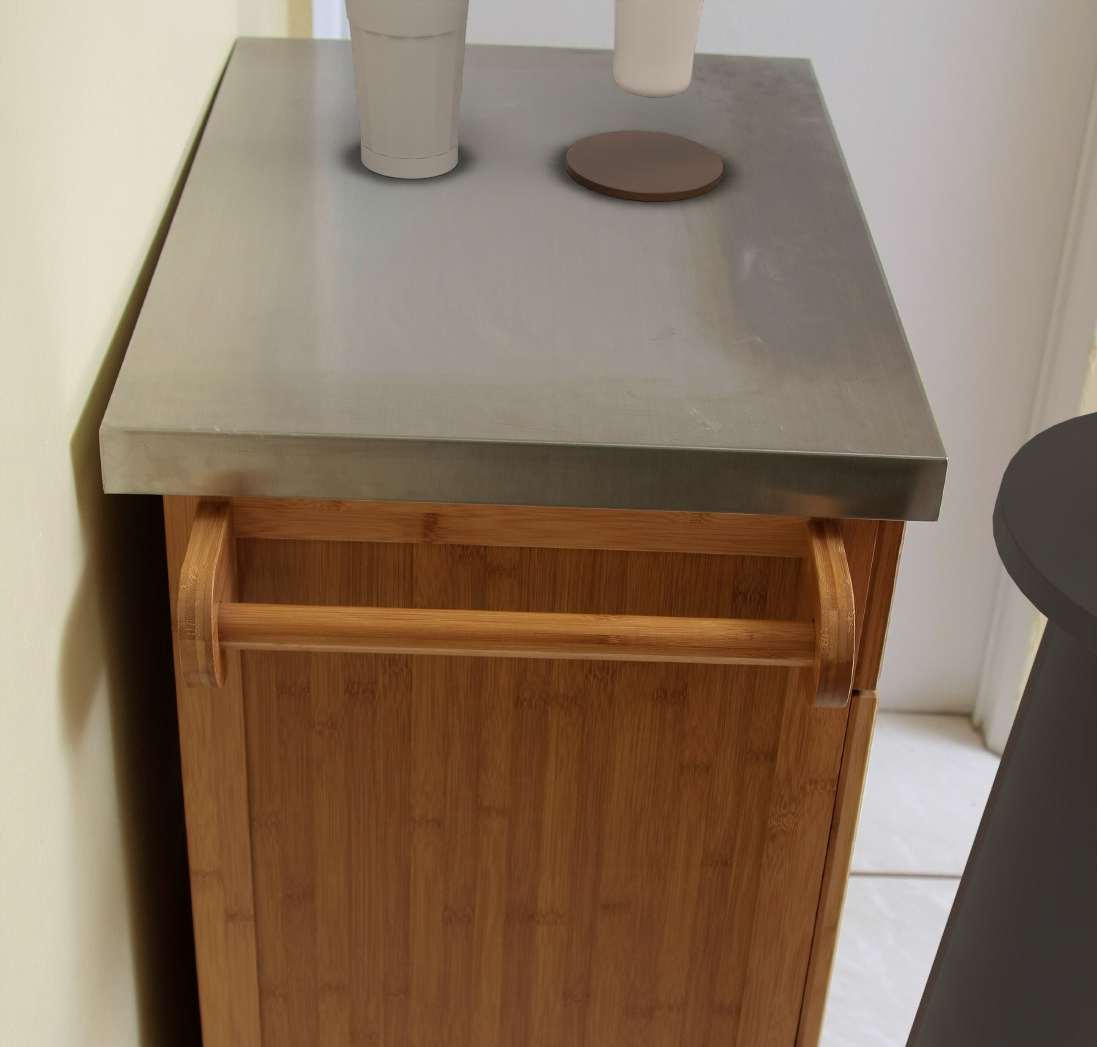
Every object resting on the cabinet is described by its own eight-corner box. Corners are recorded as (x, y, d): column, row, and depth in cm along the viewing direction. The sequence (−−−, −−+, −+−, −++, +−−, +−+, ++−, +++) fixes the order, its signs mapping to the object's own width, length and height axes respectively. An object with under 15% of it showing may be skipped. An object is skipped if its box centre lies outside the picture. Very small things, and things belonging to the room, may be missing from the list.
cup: (384, 127, 112) (379, -66, 103) (490, 150, 110) (493, -46, 101) (326, 168, 106) (315, -34, 97) (437, 192, 104) (435, -11, 95)
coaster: (751, 167, 110) (752, 159, 109) (665, 215, 103) (666, 206, 102) (624, 126, 114) (625, 118, 114) (534, 170, 107) (534, 161, 107)
